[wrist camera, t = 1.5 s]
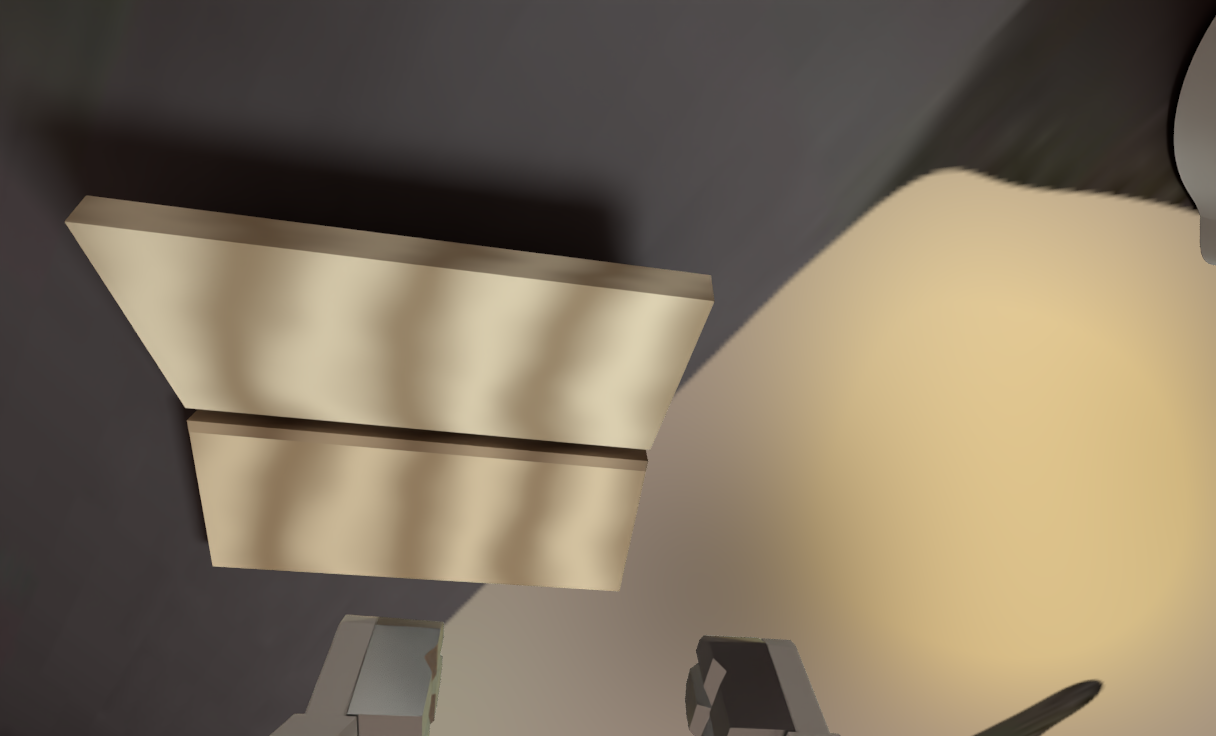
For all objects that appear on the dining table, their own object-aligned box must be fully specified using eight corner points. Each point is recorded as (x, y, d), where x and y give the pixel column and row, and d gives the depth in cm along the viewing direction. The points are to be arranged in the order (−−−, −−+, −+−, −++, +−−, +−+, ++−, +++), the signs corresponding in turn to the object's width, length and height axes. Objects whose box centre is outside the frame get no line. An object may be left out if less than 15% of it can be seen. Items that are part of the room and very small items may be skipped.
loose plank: (710, 275, 26) (714, 301, 26) (649, 427, 36) (650, 450, 35) (86, 195, 23) (64, 221, 22) (197, 383, 33) (185, 408, 32)
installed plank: (644, 444, 37) (647, 461, 35) (617, 572, 41) (619, 591, 40) (202, 404, 34) (186, 420, 32) (225, 546, 38) (212, 566, 37)
